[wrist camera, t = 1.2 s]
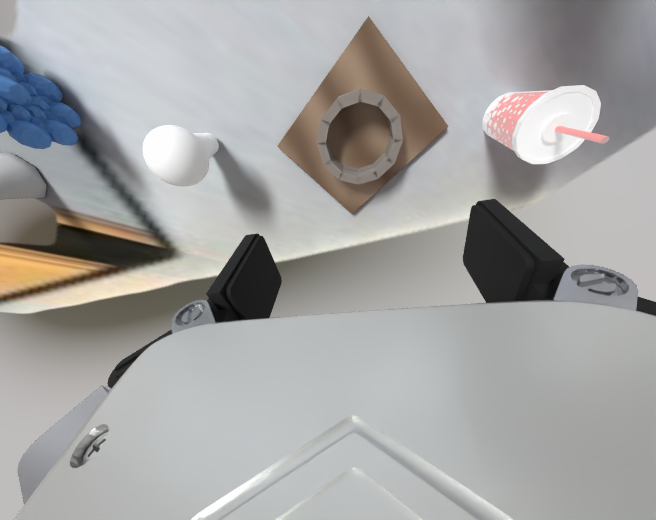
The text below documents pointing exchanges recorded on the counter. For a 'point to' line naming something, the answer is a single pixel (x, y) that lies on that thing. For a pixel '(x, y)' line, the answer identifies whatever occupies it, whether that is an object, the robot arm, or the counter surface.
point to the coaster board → (362, 122)
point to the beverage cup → (544, 122)
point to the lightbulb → (179, 154)
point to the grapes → (33, 107)
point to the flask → (19, 179)
